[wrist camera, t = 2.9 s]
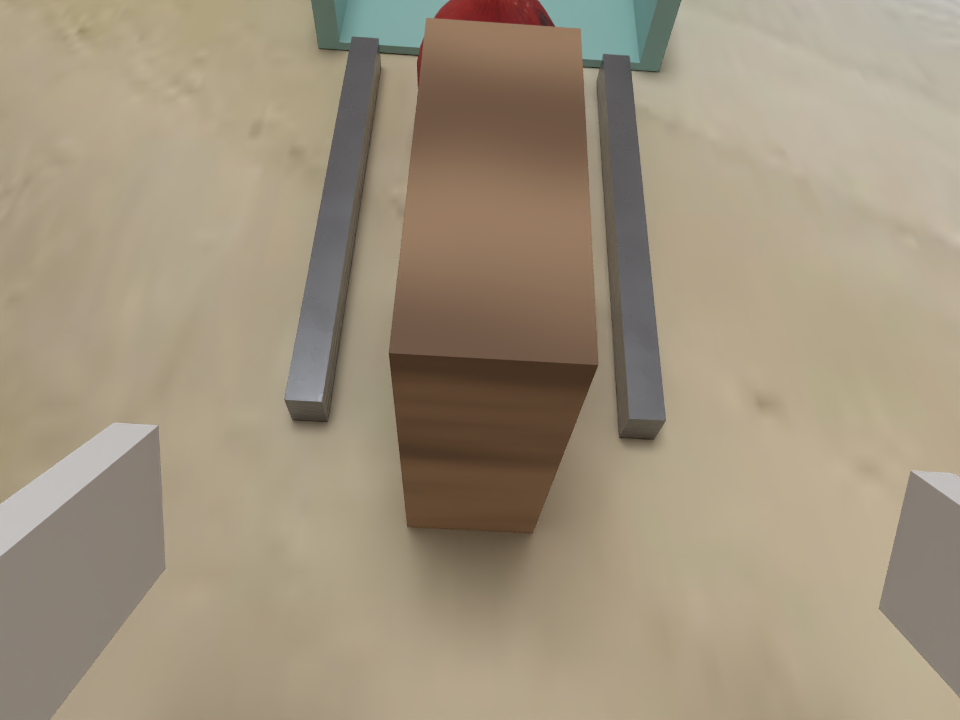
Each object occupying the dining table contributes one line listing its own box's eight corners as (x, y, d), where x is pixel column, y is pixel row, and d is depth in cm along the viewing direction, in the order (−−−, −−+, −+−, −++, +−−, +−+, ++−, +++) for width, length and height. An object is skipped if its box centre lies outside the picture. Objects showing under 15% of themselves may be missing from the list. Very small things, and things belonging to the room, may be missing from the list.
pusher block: (532, 533, 24) (598, 364, 14) (407, 526, 24) (388, 353, 14) (532, 279, 29) (580, 28, 19) (429, 273, 29) (426, 17, 19)
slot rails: (654, 438, 26) (666, 420, 24) (292, 419, 25) (284, 399, 24) (622, 83, 34) (629, 55, 33) (354, 64, 34) (351, 36, 33)
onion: (567, 117, 33) (602, -60, 26) (533, 209, 30) (562, 40, 23) (444, 84, 34) (446, -96, 27) (399, 173, 31) (389, -3, 24)
